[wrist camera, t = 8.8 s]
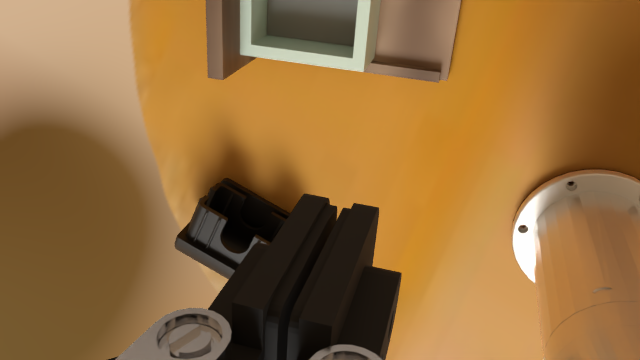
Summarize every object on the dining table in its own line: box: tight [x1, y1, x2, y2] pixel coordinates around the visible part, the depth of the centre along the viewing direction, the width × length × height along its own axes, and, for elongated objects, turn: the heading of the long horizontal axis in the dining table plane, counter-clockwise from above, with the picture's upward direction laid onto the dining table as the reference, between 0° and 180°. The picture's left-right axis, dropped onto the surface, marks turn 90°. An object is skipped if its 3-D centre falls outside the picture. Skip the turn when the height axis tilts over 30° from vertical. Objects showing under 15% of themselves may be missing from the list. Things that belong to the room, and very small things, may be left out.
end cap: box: [175, 178, 290, 279], centre depth 55 cm, size 10×7×7 cm
